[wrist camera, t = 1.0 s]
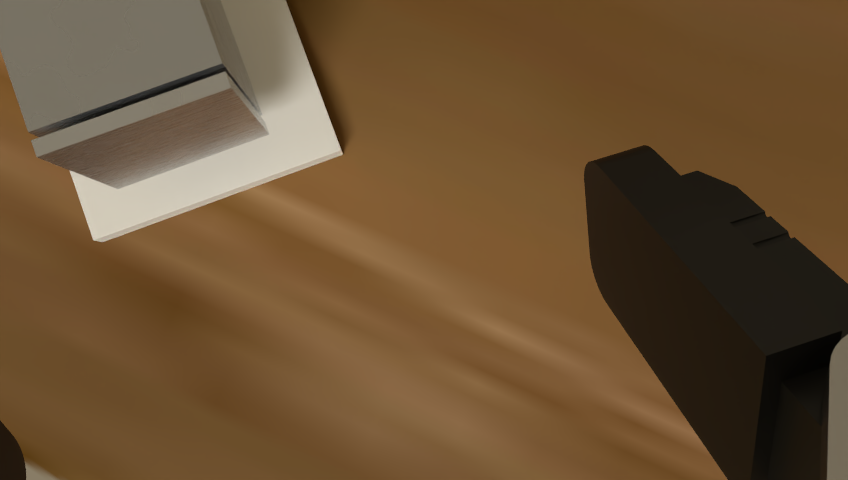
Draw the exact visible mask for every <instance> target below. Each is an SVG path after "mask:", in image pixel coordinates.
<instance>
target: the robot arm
mask: <svg viewBox="0 0 848 480" xmlns="http://www.w3.org/2000/svg"><path fill="white" fill-rule="evenodd" d="M584 183H585V196H586V209H587V222H588V236H589V249H590V259H591V265H592V269H593V273H594V276H595V279H596V282H597V285H598V287H599V290H600V292H601V294H602V296H603V298H604V300H605V301H606V303H607V304H608V306H609V307H610V309H611V310H612V312H613V313H614V315H615V316H616V318H617V319H618V320H619V322H620V323H621V325H622V326H623V328H624V329H625V331H626V332H627V334H628V335H629V336H630V338H631V339H632V341H633V342H634V344H635V345H636V347H637V348H638V350H639V351H640V352H641V354H642V355H643V357H644V358H645V360H646V361H647V363H648V364H649V366H650V367H651V368H652V370H653V371H654V373H655V374H656V376H657V377H658V379H659V380H660V382H661V383H662V384H663V386H664V387H665V389H666V390H667V392H668V393H669V395H670V396H671V398H672V399H673V400H674V402H675V403H676V405H677V406H678V408H679V409H680V411H681V412H682V413H683V415H684V416H685V418H686V419H687V421H688V422H689V424H690V425H691V427H692V428H693V429H694V431H695V432H696V434H697V435H698V437H699V438H700V440H701V441H702V443H703V444H704V445H705V447H706V448H707V450H708V451H709V453H710V454H711V456H712V457H713V459H714V460H715V461H716V463H717V464H718V466H719V467H720V469H721V470H722V472H723V473H724V475H725V476H726V477H727V479H728V480H848V284H847V283H846V282H845V281H844V280H843V279H842V278H840V277H839V276H838V275H837V274H836V273H835V272H834V271H832V270H831V269H830V268H829V267H828V266H827V265H826V264H824V263H823V262H822V261H821V260H820V259H819V258H818V257H816V256H815V255H814V254H813V253H812V252H811V251H810V250H808V249H807V248H806V247H805V246H804V245H803V244H802V243H800V242H799V241H798V240H797V239H796V238H795V237H794V238H790V237H789V234H788V231H787V230H786V229H784V228H783V227H782V226H781V225H780V224H779V223H778V222H776V221H775V220H774V219H773V218H772V217H771V216H770V217H766V215H765V211H764V210H763V209H762V208H760V207H759V206H758V205H757V204H756V203H755V202H754V201H752V200H751V199H750V198H749V197H748V196H747V195H746V194H744V193H743V192H742V191H741V190H740V189H739V188H738V187H736V186H734V185H731V184H729V183H726V182H724V181H721V180H719V179H717V178H714V177H712V176H709V175H707V174H704V173H702V172H699V171H694V172H691V173H688V174H685V175H682V176H680V175H679V174H678V173H677V172H676V171H675V170H674V169H673V168H672V167H671V166H670V165H669V164H668V163H667V162H666V161H665V160H664V159H663V158H662V157H661V156H660V155H658V154H657V153H656V152H655V151H654V150H653V149H652V148H651V147H649V146H646V145H643V146H640V147H637V148H633V149H630V150H627V151H624V152H620V153H617V154H614V155H610V156H607V157H604V158H601V159H597V160H594V161H591V162H588V163H587V164H586V167H585V171H584ZM0 480H26V468H25V462H24V457H23V454H22V451H21V449H20V447H19V444H18V443H17V441H16V439H15V438H14V436H13V435H12V434H11V433H10V431H9V430H8V429H7V428H6V427H5V426H4V424H3V423H2V422H1V421H0Z"/></svg>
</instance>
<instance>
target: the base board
mask: <svg viewBox="0 0 848 480" xmlns="http://www.w3.org/2000/svg"><path fill="white" fill-rule="evenodd" d="M221 3H222V5H223V8H224V11H225V14H226V16H227V19H228V22H229V25H230V27H231V30H232V33H233V36H234V38H235V41H236V44H237V46H238V49H239V52H240V55H241V57H242V60H243V63H244V66H245V68H246V71H247V74H248V77H249V79H250V82H251V85H252V88H253V90H254V93H255V96H256V99H257V101H258V104H259V107H260V110H261V112H262V115H261V117H262V119H263V120H264V121H265V123H266V126H267V129H268V132H269V135H267V136H264V137H261V138H258V139H256V140H253V141H250V142H247V143H244V144H242V145H239V146H236V147H233V148H231V149H228V150H225V151H222V152H220V153H217V154H214V155H211V156H208V157H206V158H203V159H200V160H197V161H195V162H192V163H189V164H186V165H184V166H181V167H178V168H175V169H173V170H170V171H167V172H164V173H161V174H159V175H156V176H153V177H150V178H148V179H145V180H142V181H139V182H137V183H134V184H131V185H128V186H125V187H123V188H120V189H116V188H113V187H111V186H108V185H106V184H103V183H101V182H98V181H96V180H93V179H91V178H88V177H86V176H83V175H81V174H78V173H75V172H73V171H70V173H71V176H72V179H73V181H74V184H75V187H76V190H77V193H78V196H79V199H80V202H81V205H82V208H83V211H84V214H85V217H86V220H87V223H88V226H89V228H90V231H91V234H92V237H93V240H94V241H99V242H105V241H107V240H110V239H113V238H115V237H118V236H121V235H124V234H126V233H129V232H132V231H135V230H137V229H140V228H143V227H146V226H148V225H151V224H154V223H157V222H159V221H162V220H165V219H168V218H170V217H173V216H176V215H179V214H181V213H184V212H187V211H190V210H192V209H195V208H198V207H200V206H203V205H206V204H209V203H211V202H214V201H217V200H220V199H222V198H225V197H228V196H231V195H233V194H236V193H239V192H242V191H244V190H247V189H250V188H253V187H255V186H258V185H261V184H264V183H266V182H269V181H272V180H275V179H277V178H280V177H283V176H285V175H288V174H291V173H294V172H296V171H299V170H302V169H305V168H307V167H310V166H313V165H316V164H318V163H321V162H324V161H327V160H329V159H332V158H335V157H338V156H340V155H343V153H342V150H341V147H340V145H339V142H338V139H337V137H336V134H335V131H334V129H333V126H332V123H331V121H330V118H329V115H328V112H327V110H326V107H325V104H324V102H323V99H322V96H321V94H320V91H319V88H318V86H317V83H316V80H315V77H314V75H313V72H312V69H311V67H310V64H309V61H308V59H307V56H306V53H305V51H304V48H303V45H302V43H301V40H300V37H299V34H298V32H297V29H296V26H295V24H294V21H293V18H292V16H291V13H290V10H289V8H288V5H287V2H286V0H221Z"/></svg>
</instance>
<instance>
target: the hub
mask: <svg viewBox="0 0 848 480" xmlns="http://www.w3.org/2000/svg"><path fill="white" fill-rule="evenodd" d="M0 49H1V52H2V55H3V58H4V61H5V64H6V67H7V70H8V73H9V76H10V79H11V82H12V85H13V88H14V91H15V94H16V97H17V100H18V103H19V106H20V109H21V112H22V115H23V118H24V121H25V124H26V127H27V130H28V132H29V133H31V134H34V135H36V136H38V137H40V138H37V139H34V140H31V141H32V144H33V147H34V150H35V153H36V156H37V157H38V158H40V159H43V160H45V161H48V162H50V163H53V164H55V165H58V166H60V167H63V168H65V169H68V170H70V171H73V172H75V173H78V174H81V175H83V176H86V177H88V178H91V179H93V180H96V181H98V182H101V183H103V184H106V185H108V186H111V187H113V188H116V189H120V188H123V187H125V186H128V185H131V184H134V183H137V182H139V181H142V180H145V179H148V178H150V177H153V176H156V175H159V174H161V173H164V172H167V171H170V170H173V169H175V168H178V167H181V166H184V165H186V164H189V163H192V162H195V161H197V160H200V159H203V158H206V157H208V156H211V155H214V154H217V153H220V152H222V151H225V150H228V149H231V148H233V147H236V146H239V145H242V144H244V143H247V142H250V141H253V140H256V139H258V138H261V137H264V136H267V135H269V132H268V129H267V126H266V123H265V121H264V120H263V119H262V117H261V115H262V112H261V110H260V107H259V104H258V101H257V99H256V96H255V93H254V90H253V88H252V85H251V82H250V79H249V77H248V74H247V71H246V68H245V66H244V63H243V60H242V57H241V55H240V52H239V49H238V46H237V44H236V41H235V38H234V36H233V33H232V30H231V27H230V25H229V22H228V19H227V16H226V14H225V11H224V8H223V5H222V3H221V0H0Z"/></svg>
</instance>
